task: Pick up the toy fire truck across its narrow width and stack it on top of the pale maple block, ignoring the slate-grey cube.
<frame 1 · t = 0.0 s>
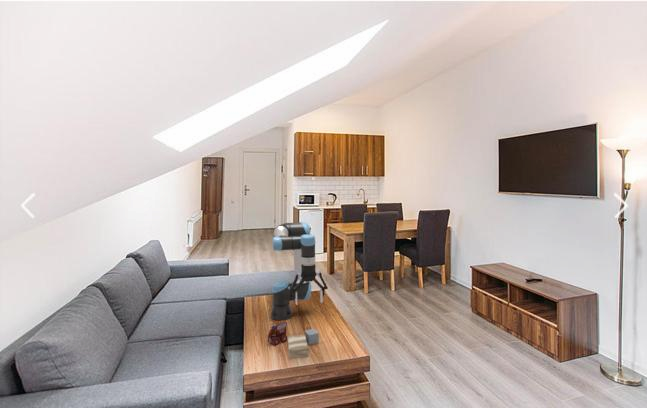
hand: (309, 302, 164), 28 cm above the table, fingers open, 13 cm apart
toy fire truck: (277, 341, 179), on the table
slate cube: (311, 341, 178), on the table
maple block: (297, 350, 170), on the table
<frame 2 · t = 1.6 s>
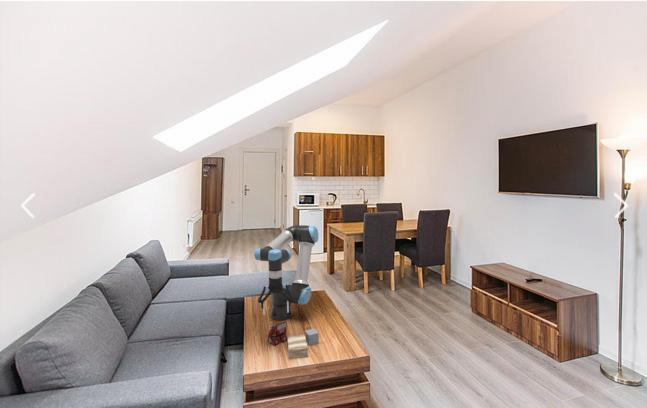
hand: (276, 312, 177), 17 cm above the table, fingers open, 13 cm apart
nothing on the table moved.
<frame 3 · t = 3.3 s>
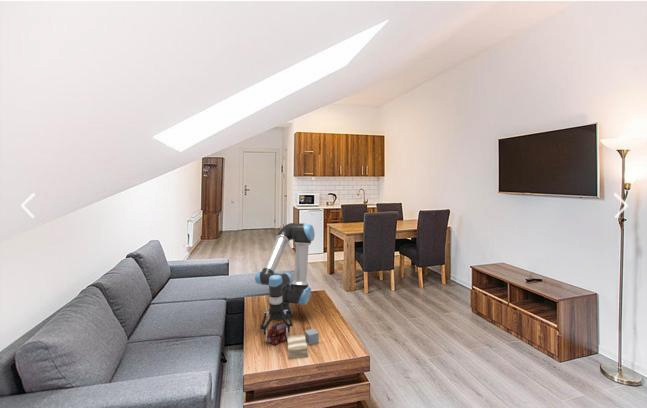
hand: (277, 338, 178), 2 cm above the table, fingers closed on toy fire truck, 11 cm apart
toy fire truck: (277, 341, 179), on the table, touching gripper
everything else where it was.
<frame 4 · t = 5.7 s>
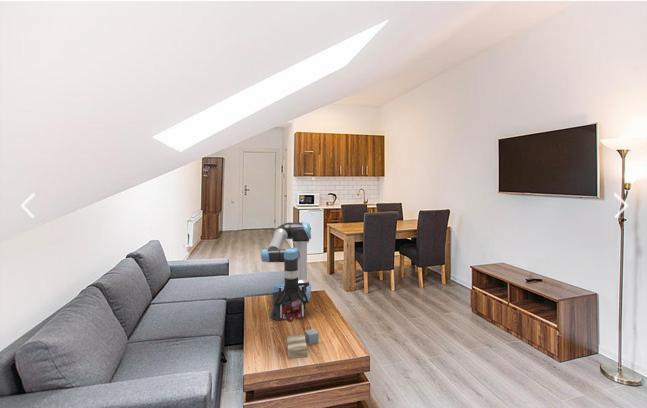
hand: (292, 316, 169), 19 cm above the table, fingers closed on toy fire truck, 11 cm apart
toy fire truck: (291, 319, 170), point 17 cm above the table, touching gripper
everything else where it was.
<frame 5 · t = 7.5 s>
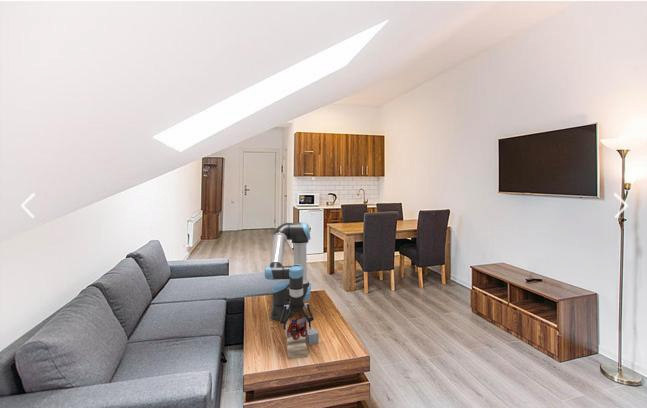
hand: (297, 333, 169), 9 cm above the table, fingers closed on toy fire truck, 11 cm apart
toy fire truck: (297, 336, 169), point 7 cm above the table, touching gripper
everything else where it was.
when the fingers open (8 cm above the table, at t = 8.4 s): toy fire truck drops 2 cm, resting on maple block.
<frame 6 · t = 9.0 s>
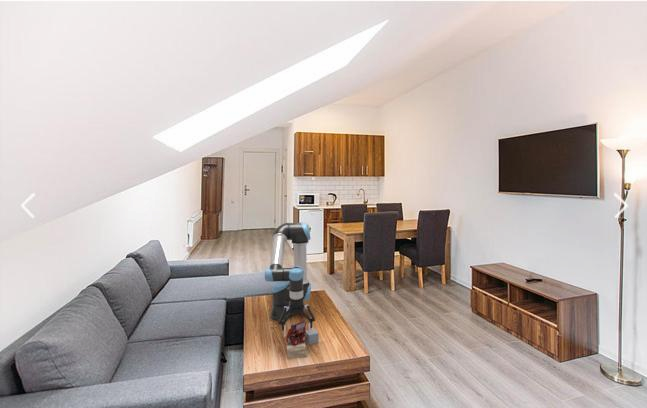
hand: (297, 334, 169), 9 cm above the table, fingers open, 13 cm apart
toy fire truck: (296, 342, 170), point 4 cm above the table, touching maple block
maple block: (296, 350, 169), on the table, touching toy fire truck
everything else where it was.
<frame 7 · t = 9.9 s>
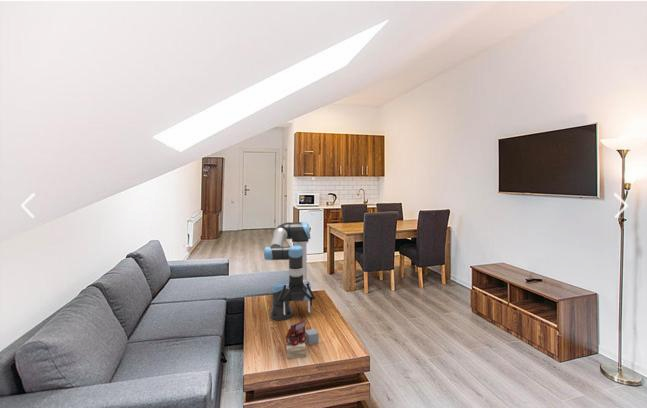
hand: (296, 312, 168), 21 cm above the table, fingers open, 13 cm apart
nothing on the table moved.
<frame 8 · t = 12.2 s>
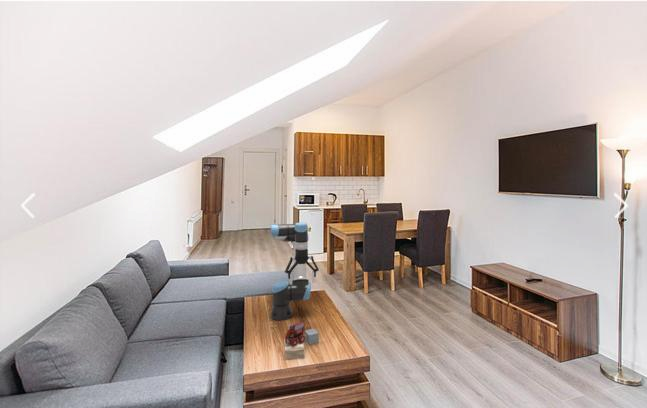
hand: (302, 283, 185), 32 cm above the table, fingers open, 13 cm apart
at the end: toy fire truck inside the target area on the maple block (0.8 cm from its centre), point 4.8 cm above the maple block's base; toy fire truck touching maple block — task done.
